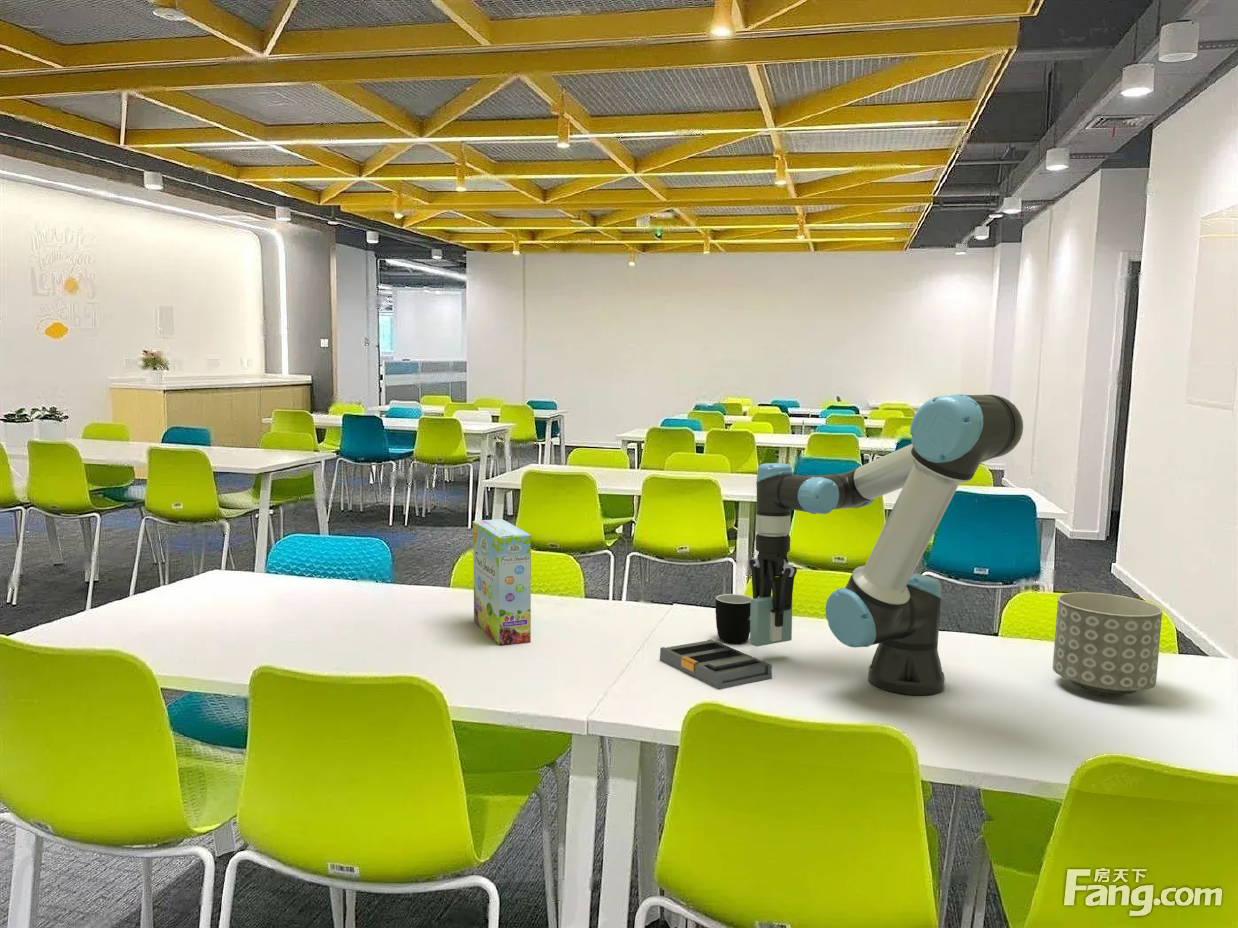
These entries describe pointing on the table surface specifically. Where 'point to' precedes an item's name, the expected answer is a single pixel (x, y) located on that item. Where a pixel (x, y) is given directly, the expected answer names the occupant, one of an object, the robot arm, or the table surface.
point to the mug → (733, 618)
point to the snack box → (502, 581)
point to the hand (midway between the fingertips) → (771, 638)
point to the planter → (1107, 642)
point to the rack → (716, 663)
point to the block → (767, 622)
